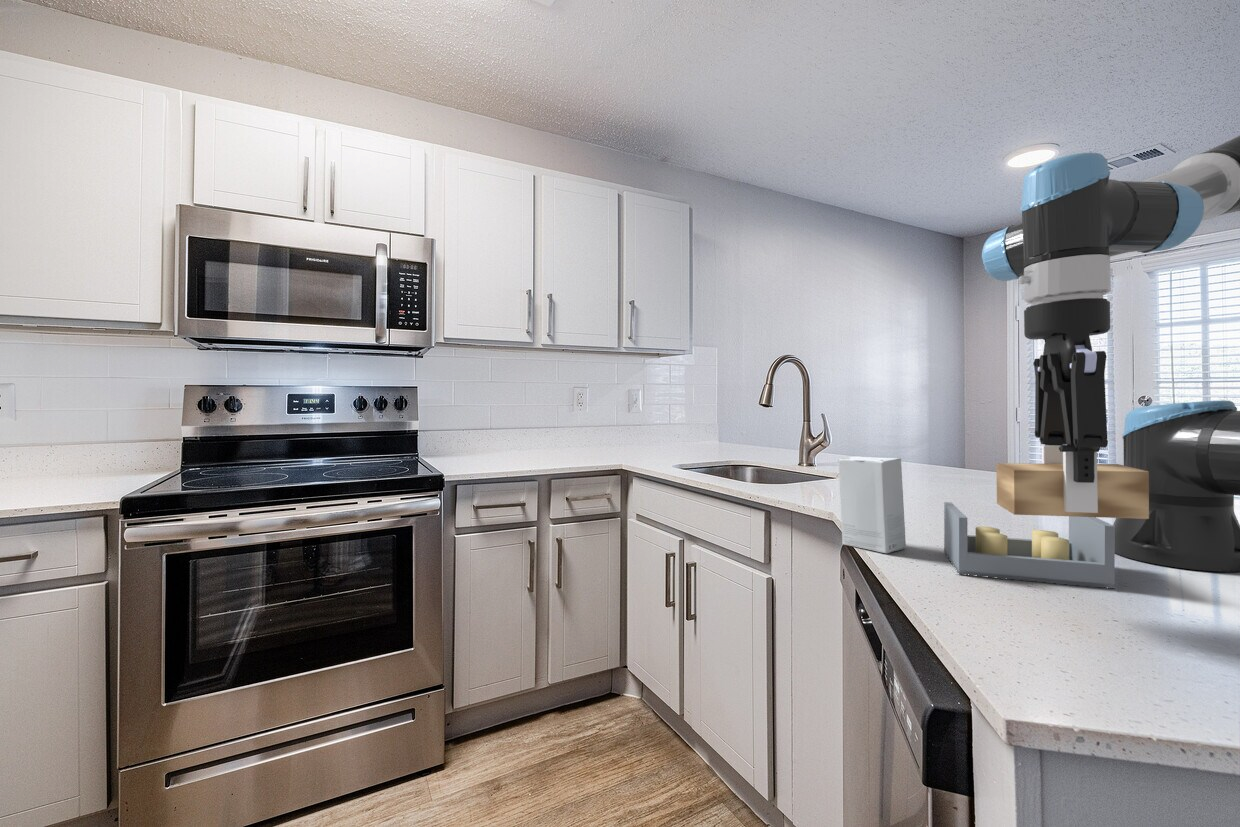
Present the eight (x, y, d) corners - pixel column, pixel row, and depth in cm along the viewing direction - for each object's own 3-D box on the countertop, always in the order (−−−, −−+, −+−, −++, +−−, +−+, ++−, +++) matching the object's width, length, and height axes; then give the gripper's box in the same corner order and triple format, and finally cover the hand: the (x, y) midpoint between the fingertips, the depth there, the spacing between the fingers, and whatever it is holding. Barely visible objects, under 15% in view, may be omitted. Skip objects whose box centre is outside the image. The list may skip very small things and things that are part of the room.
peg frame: (1077, 562, 81) (1077, 508, 80) (1114, 589, 70) (1114, 526, 69) (944, 552, 87) (944, 502, 87) (959, 574, 76) (959, 517, 76)
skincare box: (906, 549, 89) (906, 458, 89) (885, 555, 86) (884, 460, 86) (859, 538, 96) (858, 454, 96) (838, 544, 93) (837, 456, 93)
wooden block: (1118, 507, 63) (1118, 464, 63) (1148, 518, 58) (1148, 471, 57) (996, 503, 67) (996, 463, 67) (1014, 514, 62) (1014, 470, 61)
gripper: (1002, 315, 72) (1006, 490, 73) (1054, 291, 54) (1058, 522, 55) (1073, 309, 69) (1076, 491, 70) (1152, 282, 51) (1155, 526, 52)
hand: (1068, 505), depth 62 cm, fingers closed on wooden block, 6 cm apart
